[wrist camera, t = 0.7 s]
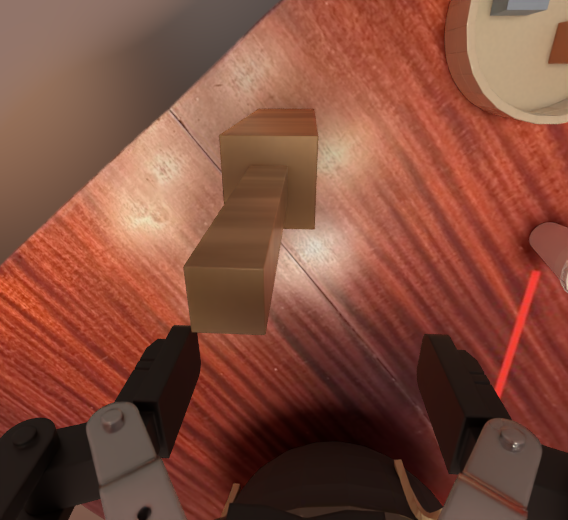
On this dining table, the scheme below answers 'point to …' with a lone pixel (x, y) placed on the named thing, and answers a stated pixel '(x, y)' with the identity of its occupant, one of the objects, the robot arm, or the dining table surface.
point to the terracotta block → (560, 45)
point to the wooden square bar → (239, 257)
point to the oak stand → (276, 156)
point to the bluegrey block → (518, 7)
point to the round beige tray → (508, 60)
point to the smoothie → (552, 248)
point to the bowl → (337, 484)
